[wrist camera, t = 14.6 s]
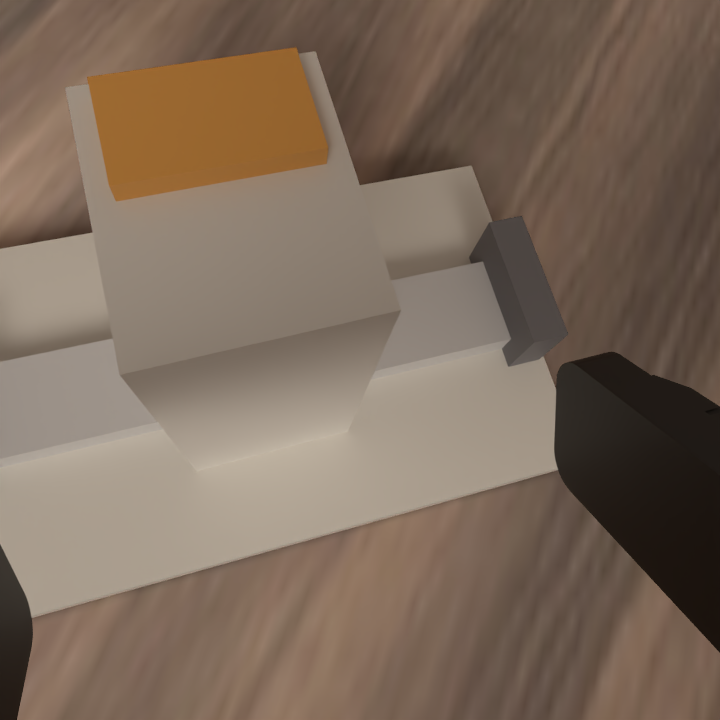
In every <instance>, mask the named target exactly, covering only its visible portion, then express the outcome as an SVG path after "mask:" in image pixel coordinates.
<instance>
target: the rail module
mask: <svg viewBox="0 0 720 720" xmlns="http://www.w3.org/2000/svg"><path fill="white" fill-rule="evenodd" d="M87 79H88V84H85V85H78V86H71V87H65V89H66V95H67V100H68V105H69V111H70V116H71V121H72V126H73V132H74V137H75V142H76V148H77V153H78V158H79V163H80V169H81V174H82V179H83V184H84V190H85V195H86V200H87V206H88V211H89V216H90V221H91V227H92V232H93V237H94V243H95V248H96V253H97V258H98V264H99V269H100V274H101V279H102V285H103V290H104V295H105V301H106V306H107V311H108V316H109V322H110V327H111V332H112V338H113V343H114V348H115V353H116V359H117V364H118V369H119V374H120V376H121V377H122V379H123V380H124V381H125V382H126V384H127V385H128V386H129V387H130V389H131V390H132V391H133V392H134V394H135V395H136V396H137V397H138V399H139V400H140V401H141V402H142V404H143V405H144V406H145V407H146V409H147V410H148V411H149V412H150V414H151V415H152V416H153V417H154V419H155V420H156V421H157V422H158V424H159V425H160V426H161V427H162V429H163V430H164V431H165V432H166V434H167V435H168V436H169V437H170V439H171V440H172V441H173V442H174V444H175V445H176V446H177V447H178V449H179V450H180V451H181V452H182V454H183V455H184V456H185V457H186V459H187V460H188V461H189V462H190V464H191V465H192V466H193V468H194V469H195V470H196V471H199V470H203V469H207V468H211V467H214V466H218V465H222V464H226V463H229V462H233V461H237V460H241V459H245V458H248V457H252V456H256V455H260V454H264V453H267V452H271V451H275V450H279V449H283V448H286V447H290V446H294V445H298V444H301V443H305V442H309V441H313V440H317V439H320V438H324V437H328V436H332V435H336V434H339V433H343V432H347V431H348V430H349V428H350V426H351V423H352V421H353V419H354V417H355V414H356V412H357V410H358V407H359V405H360V403H361V401H362V398H363V396H364V394H365V391H366V389H367V387H368V385H369V382H370V380H371V378H372V375H373V373H374V371H375V369H376V366H377V364H378V362H379V360H380V357H381V355H382V353H383V350H384V348H385V346H386V344H387V341H388V339H389V337H390V334H391V332H392V330H393V328H394V325H395V323H396V321H397V318H398V316H399V314H400V312H401V308H400V305H399V302H398V299H397V296H396V293H395V290H394V287H393V284H392V281H391V278H390V275H389V272H388V269H387V266H386V263H385V260H384V257H383V254H382V251H381V248H380V245H379V242H378V239H377V236H376V233H375V230H374V227H373V224H372V221H371V218H370V215H369V212H368V208H367V205H366V202H365V199H364V196H363V193H362V190H361V187H360V184H359V181H358V178H357V175H356V172H355V169H354V166H353V163H352V160H351V157H350V154H349V151H348V148H347V145H346V142H345V139H344V136H343V133H342V130H341V127H340V124H339V121H338V118H337V115H336V112H335V109H334V106H333V103H332V100H331V97H330V94H329V91H328V88H327V85H326V82H325V79H324V76H323V72H322V69H321V66H320V63H319V60H318V57H317V54H316V51H314V52H307V53H300V54H298V51H297V48H296V47H295V48H288V49H281V50H274V51H267V52H260V53H253V54H246V55H239V56H231V57H224V58H217V59H210V60H203V61H196V62H189V63H182V64H175V65H168V66H161V67H154V68H147V69H140V70H133V71H126V72H119V73H112V74H105V75H98V76H91V77H87Z"/></svg>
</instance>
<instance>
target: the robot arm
mask: <svg viewBox="0 0 720 720" xmlns="http://www.w3.org/2000/svg"><path fill="white" fill-rule="evenodd" d="M554 454H555V460H556V464H557V468H558V471H559V473H560V475H561V478H562V480H563V481H564V483H565V485H566V486H567V488H568V489H569V490H570V491H571V492H572V493H573V495H574V496H575V497H576V498H577V499H578V500H579V501H580V502H581V503H582V504H583V505H584V506H585V508H586V509H587V510H588V511H589V512H590V513H591V514H592V515H593V516H594V517H595V518H596V519H597V520H598V522H599V523H600V524H601V525H602V526H603V527H604V528H605V529H606V530H607V531H608V532H609V533H610V535H611V536H612V537H613V538H614V539H615V540H616V541H617V542H618V543H619V544H620V545H621V546H622V547H623V549H624V550H625V551H626V552H627V553H628V554H629V555H630V556H631V557H632V558H633V559H634V560H635V561H636V563H637V564H638V565H639V566H640V567H641V568H642V569H643V570H644V571H645V572H646V573H647V574H648V576H649V577H650V578H651V579H652V580H653V581H654V582H655V583H656V584H657V585H658V586H659V587H660V588H661V590H662V591H663V592H664V593H665V594H666V595H667V596H668V597H669V598H670V599H671V600H672V601H673V603H674V604H675V605H676V606H677V607H678V608H679V609H680V610H681V611H682V612H683V613H684V614H685V615H686V617H687V618H688V619H689V620H690V621H691V622H692V623H693V624H694V625H695V626H696V627H697V628H698V630H699V631H700V632H701V633H702V634H703V635H704V636H705V637H706V638H707V639H708V640H709V641H710V642H711V644H712V645H713V646H714V647H715V648H716V649H717V650H718V651H719V652H720V406H718V405H716V404H715V403H713V402H712V401H710V400H709V399H707V398H706V397H704V396H702V395H701V394H699V393H698V392H696V391H695V390H693V389H692V388H689V387H687V386H684V385H681V384H678V383H675V382H672V381H669V380H667V379H664V378H661V377H658V376H655V375H652V376H651V375H650V374H648V373H647V372H645V371H644V370H642V369H641V368H639V367H638V366H636V365H635V364H633V363H632V362H630V361H629V360H627V359H626V358H624V357H623V356H621V355H620V354H618V353H615V352H607V353H603V354H599V355H595V356H591V357H587V358H583V359H579V360H575V361H571V362H567V363H564V364H563V365H562V366H561V367H560V369H559V371H558V374H557V384H556V411H555V437H554ZM32 638H33V628H32V617H31V612H30V607H29V603H28V600H27V598H26V595H25V593H24V591H23V589H22V587H21V585H20V583H19V581H18V579H17V577H16V575H15V573H14V571H13V569H12V567H11V565H10V563H9V561H8V559H7V557H6V555H5V553H4V551H3V549H2V547H1V545H0V720H17V716H18V711H19V706H20V701H21V697H22V692H23V687H24V682H25V677H26V672H27V667H28V662H29V657H30V652H31V647H32Z"/></svg>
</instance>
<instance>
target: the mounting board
mask: <svg viewBox="0 0 720 720" xmlns="http://www.w3.org/2000/svg"><path fill="white" fill-rule="evenodd" d="M360 187H361V190H362V193H363V196H364V199H365V202H366V205H367V208H368V212H369V215H370V218H371V221H372V224H373V227H374V230H375V233H376V236H377V239H378V242H379V245H380V248H381V251H382V254H383V257H384V260H385V263H386V266H387V269H388V272H389V275H390V278H391V281H392V284H393V287H394V290H395V293H396V296H397V299H398V302H399V305H400V308H401V312H400V314H399V316H398V318H397V321H396V323H395V325H394V328H393V330H392V332H391V334H390V337H389V339H388V341H387V344H386V346H385V348H384V350H383V353H382V355H381V357H380V360H379V362H378V364H377V366H376V369H375V371H374V373H373V375H372V378H371V380H370V382H369V385H368V387H367V389H366V391H365V394H364V396H363V398H362V401H361V403H360V405H359V407H358V410H357V412H356V414H355V417H354V419H353V421H352V423H351V426H350V428H349V430H348V431H347V432H343V433H339V434H336V435H332V436H328V437H324V438H320V439H317V440H313V441H309V442H305V443H301V444H298V445H294V446H290V447H286V448H283V449H279V450H275V451H271V452H267V453H264V454H260V455H256V456H252V457H248V458H245V459H241V460H237V461H233V462H229V463H226V464H222V465H218V466H214V467H211V468H207V469H203V470H199V471H196V470H195V469H194V468H193V466H192V465H191V464H190V462H189V461H188V460H187V459H186V457H185V456H184V455H183V454H182V452H181V451H180V450H179V449H178V447H177V446H176V445H175V444H174V442H173V441H172V440H171V439H170V437H169V436H168V435H167V434H166V432H165V431H164V430H163V429H162V427H161V426H160V425H159V424H158V422H157V421H156V420H155V419H154V417H153V416H152V415H151V414H150V412H149V411H148V410H147V409H146V407H145V406H144V405H143V404H142V402H141V401H140V400H139V399H138V397H137V396H136V395H135V394H134V392H133V391H132V390H131V389H130V387H129V386H128V385H127V384H126V382H125V381H124V380H123V379H122V377H121V376H120V374H119V369H118V364H117V359H116V353H115V348H114V343H113V338H112V332H111V327H110V322H109V316H108V311H107V306H106V301H105V295H104V290H103V285H102V279H101V274H100V269H99V264H98V258H97V253H96V248H95V243H94V237H93V233H87V234H82V235H76V236H70V237H65V238H59V239H53V240H48V241H42V242H36V243H31V244H25V245H19V246H14V247H8V248H2V249H0V545H1V547H2V549H3V551H4V553H5V555H6V557H7V559H8V561H9V563H10V565H11V567H12V569H13V571H14V573H15V575H16V577H17V579H18V581H19V583H20V585H21V587H22V589H23V591H24V593H25V595H26V598H27V600H28V603H29V607H30V612H31V617H32V618H33V617H37V616H40V615H44V614H47V613H51V612H54V611H58V610H61V609H65V608H69V607H72V606H76V605H79V604H83V603H86V602H90V601H93V600H97V599H101V598H104V597H108V596H111V595H115V594H118V593H122V592H126V591H129V590H133V589H136V588H140V587H143V586H147V585H150V584H154V583H158V582H161V581H165V580H168V579H172V578H175V577H179V576H182V575H186V574H190V573H193V572H197V571H200V570H204V569H207V568H211V567H215V566H218V565H222V564H225V563H229V562H232V561H236V560H239V559H243V558H247V557H250V556H254V555H257V554H261V553H264V552H268V551H271V550H275V549H279V548H282V547H286V546H289V545H293V544H296V543H300V542H304V541H307V540H311V539H314V538H318V537H321V536H325V535H328V534H332V533H336V532H339V531H343V530H346V529H350V528H353V527H357V526H360V525H364V524H368V523H371V522H375V521H378V520H382V519H385V518H389V517H393V516H396V515H400V514H403V513H407V512H410V511H414V510H417V509H421V508H425V507H428V506H432V505H435V504H439V503H442V502H446V501H449V500H453V499H457V498H460V497H464V496H467V495H471V494H474V493H478V492H482V491H485V490H489V489H492V488H496V487H499V486H503V485H506V484H510V483H514V482H517V481H521V480H524V479H528V478H531V477H535V476H538V475H542V474H546V473H549V472H553V471H556V470H558V468H557V464H556V460H555V454H554V437H555V411H556V388H555V385H554V383H553V380H552V377H551V375H550V372H549V370H548V367H547V364H546V362H545V359H544V355H545V354H546V353H547V352H548V351H550V350H551V349H552V348H553V347H554V346H555V345H557V344H558V343H559V342H560V341H561V340H562V339H564V338H565V337H566V336H567V335H568V332H567V330H566V327H565V325H564V322H563V319H562V317H561V314H560V312H559V309H558V307H557V304H556V302H555V299H554V297H553V294H552V292H551V289H550V286H549V284H548V281H547V279H546V276H545V274H544V271H543V269H542V266H541V264H540V261H539V259H538V256H537V253H536V251H535V248H534V246H533V243H532V241H531V238H530V236H529V233H528V231H527V228H526V225H525V223H524V220H523V218H522V216H519V217H514V218H509V219H504V220H499V221H494V222H493V221H492V219H491V216H490V213H489V211H488V208H487V205H486V203H485V200H484V198H483V195H482V192H481V190H480V187H479V184H478V182H477V179H476V176H475V174H474V171H473V168H472V166H466V167H460V168H455V169H449V170H443V171H438V172H432V173H427V174H421V175H415V176H410V177H404V178H398V179H393V180H387V181H381V182H376V183H370V184H364V185H360Z"/></svg>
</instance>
